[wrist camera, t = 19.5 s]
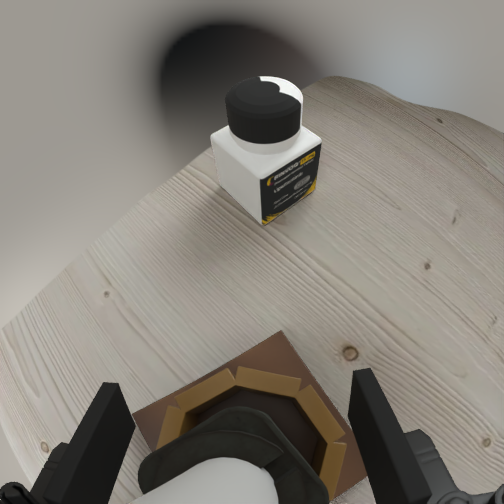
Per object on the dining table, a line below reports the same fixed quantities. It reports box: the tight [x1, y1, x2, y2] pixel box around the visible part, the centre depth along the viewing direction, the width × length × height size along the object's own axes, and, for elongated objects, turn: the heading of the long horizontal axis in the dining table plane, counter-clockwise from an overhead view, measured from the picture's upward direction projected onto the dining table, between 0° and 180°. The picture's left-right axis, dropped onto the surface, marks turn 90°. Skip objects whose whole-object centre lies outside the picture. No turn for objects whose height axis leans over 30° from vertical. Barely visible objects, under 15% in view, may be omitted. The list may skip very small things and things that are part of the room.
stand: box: [132, 330, 368, 501], centre depth 18 cm, size 13×13×6 cm
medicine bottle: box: [211, 77, 322, 225], centre depth 27 cm, size 7×7×12 cm
